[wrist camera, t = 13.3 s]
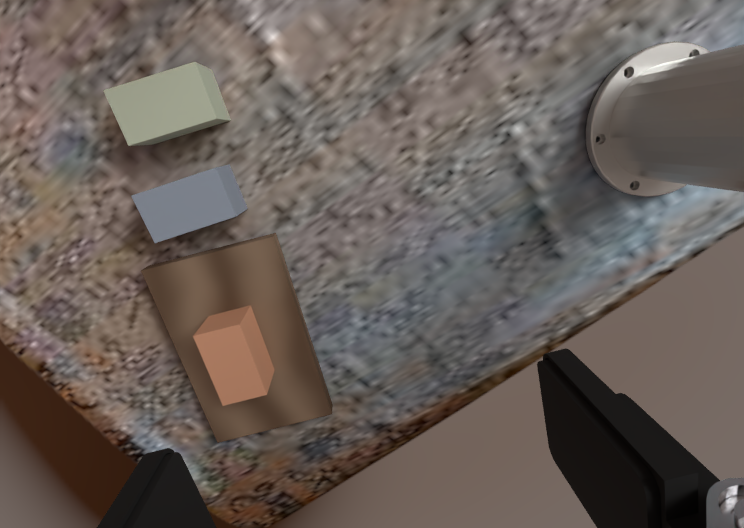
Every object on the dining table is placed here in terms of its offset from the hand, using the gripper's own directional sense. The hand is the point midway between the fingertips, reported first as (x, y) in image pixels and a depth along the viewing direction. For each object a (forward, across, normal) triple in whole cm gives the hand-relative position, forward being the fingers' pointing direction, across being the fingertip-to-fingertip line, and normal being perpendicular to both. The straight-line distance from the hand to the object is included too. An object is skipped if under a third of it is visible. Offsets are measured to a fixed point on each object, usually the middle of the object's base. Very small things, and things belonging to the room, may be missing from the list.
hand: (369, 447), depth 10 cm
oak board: (+28, +13, +8) cm, 32 cm away
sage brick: (+28, +11, -13) cm, 33 cm away
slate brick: (+28, +12, -6) cm, 32 cm away
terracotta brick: (+27, +13, +8) cm, 31 cm away
